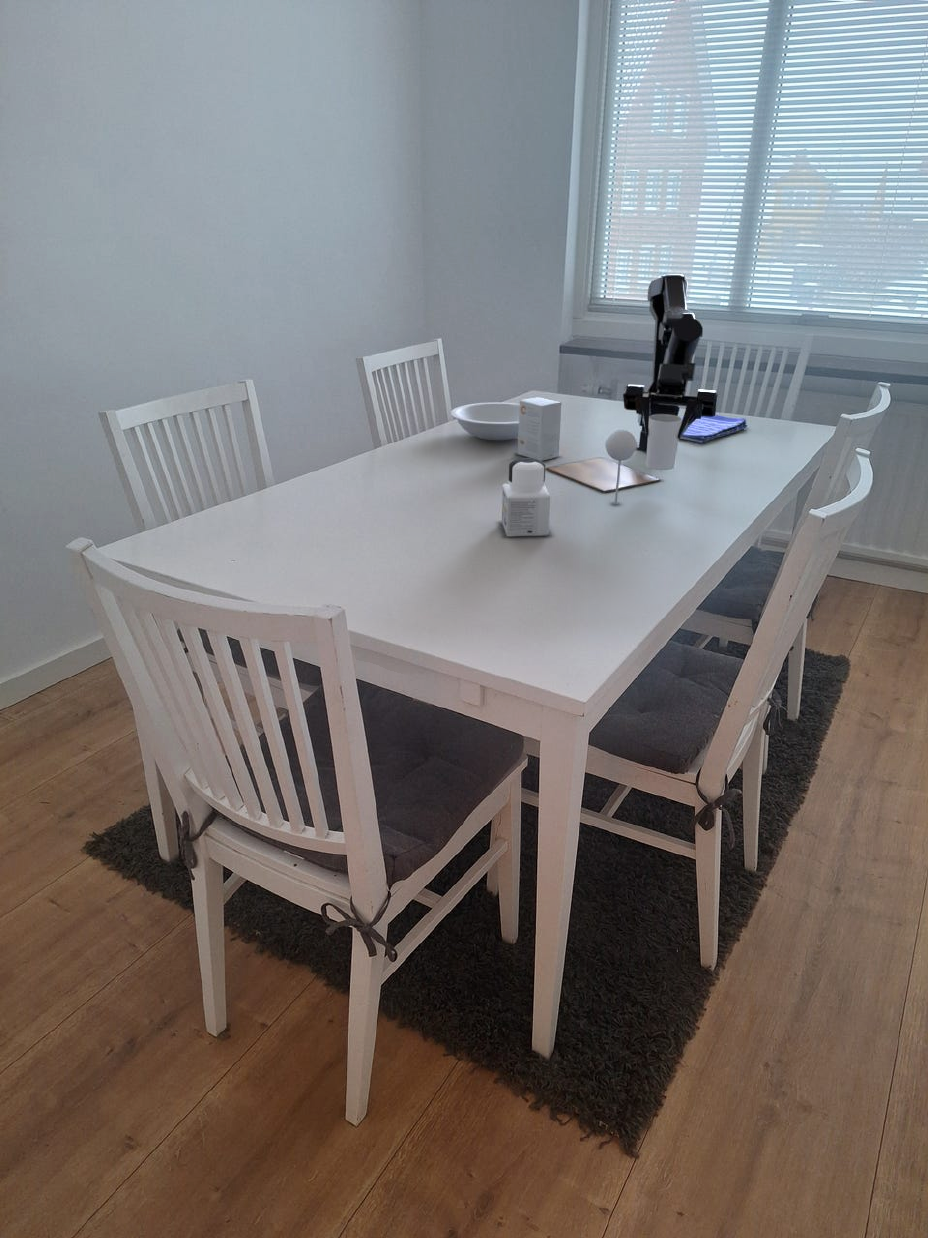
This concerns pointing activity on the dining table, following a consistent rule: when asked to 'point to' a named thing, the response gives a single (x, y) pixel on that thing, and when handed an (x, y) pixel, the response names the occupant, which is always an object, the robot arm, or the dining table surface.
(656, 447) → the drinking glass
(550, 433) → the small box
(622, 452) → the lollipop
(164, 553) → the dining table surface
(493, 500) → the dining table surface
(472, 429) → the soup bowl
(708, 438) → the dish towel
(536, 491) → the container
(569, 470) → the glossy brown placemat
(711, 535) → the dining table surface
